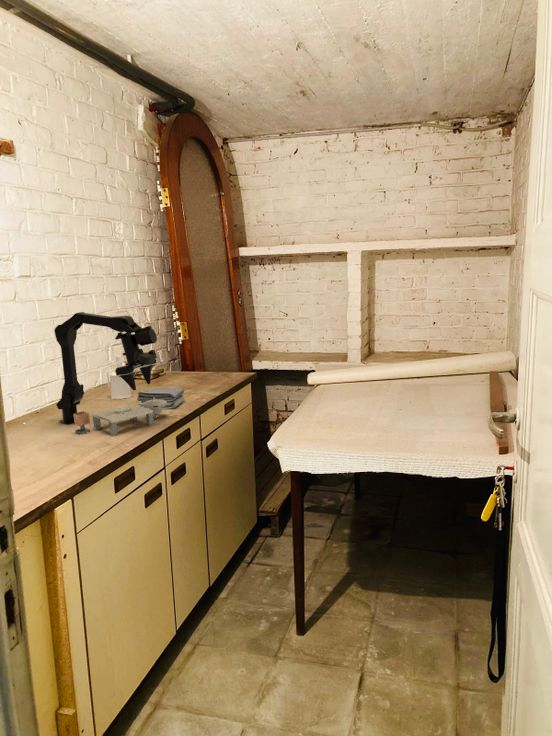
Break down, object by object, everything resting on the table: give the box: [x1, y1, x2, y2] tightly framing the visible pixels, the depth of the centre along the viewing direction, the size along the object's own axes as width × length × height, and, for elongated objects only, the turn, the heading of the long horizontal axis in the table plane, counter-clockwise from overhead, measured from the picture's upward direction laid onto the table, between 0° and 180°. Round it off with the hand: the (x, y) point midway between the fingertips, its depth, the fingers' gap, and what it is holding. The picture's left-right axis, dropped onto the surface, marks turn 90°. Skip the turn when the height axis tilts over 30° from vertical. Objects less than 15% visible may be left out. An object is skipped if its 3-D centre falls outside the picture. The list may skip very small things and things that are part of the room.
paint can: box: [106, 354, 132, 400], centre depth 267 cm, size 10×9×20 cm
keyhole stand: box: [92, 403, 155, 437], centre depth 220 cm, size 14×18×6 cm
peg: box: [73, 410, 91, 435], centre depth 214 cm, size 4×4×8 cm
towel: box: [136, 385, 185, 410], centre depth 252 cm, size 15×18×8 cm
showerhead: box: [143, 398, 167, 419], centre depth 232 cm, size 9×7×10 cm
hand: (142, 387), depth 221 cm, fingers open, 9 cm apart
